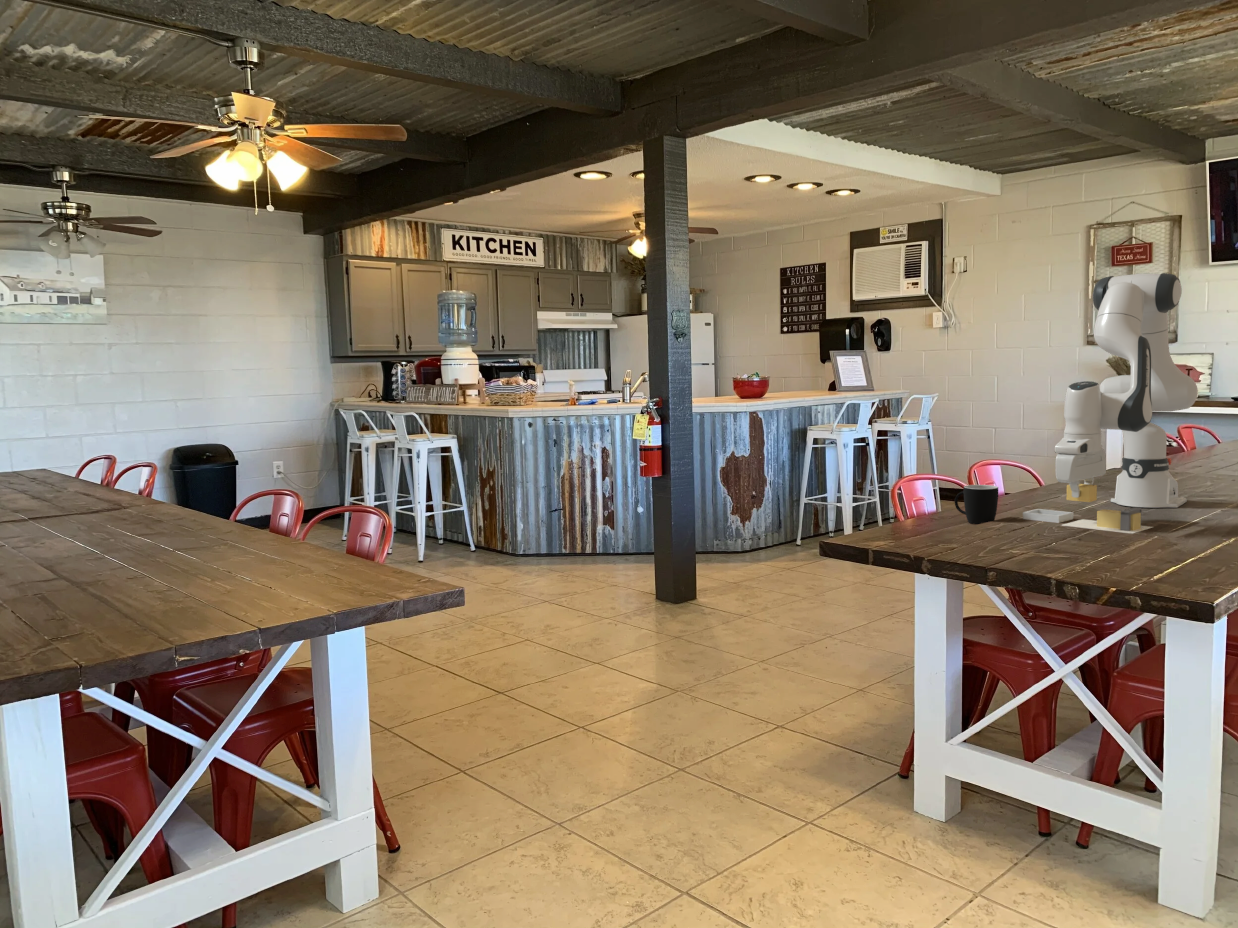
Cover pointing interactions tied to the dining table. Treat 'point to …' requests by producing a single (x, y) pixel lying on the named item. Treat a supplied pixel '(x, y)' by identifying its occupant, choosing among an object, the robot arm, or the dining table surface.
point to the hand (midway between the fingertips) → (1081, 495)
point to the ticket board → (1094, 526)
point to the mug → (979, 503)
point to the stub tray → (1048, 515)
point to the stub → (1083, 493)
